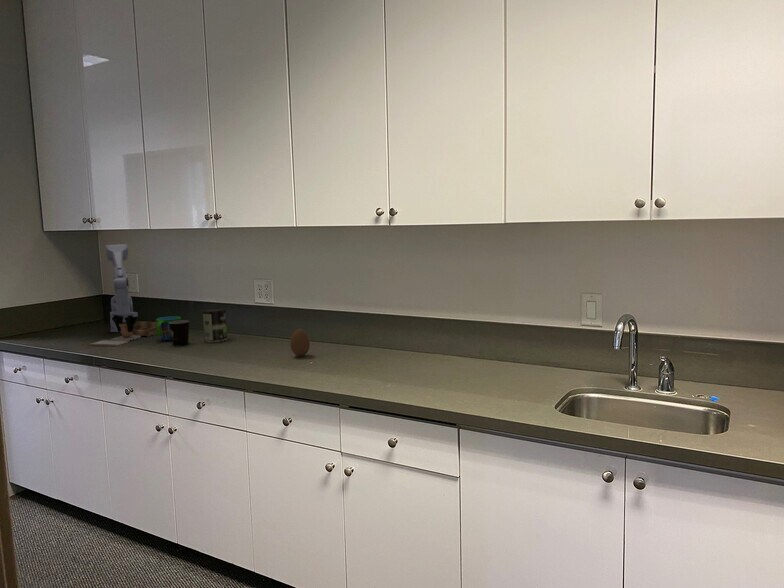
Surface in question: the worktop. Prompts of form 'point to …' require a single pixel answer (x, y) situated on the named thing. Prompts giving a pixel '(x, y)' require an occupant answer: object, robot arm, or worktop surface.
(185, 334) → the coffee mug
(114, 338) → the stone tile
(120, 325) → the clay pot
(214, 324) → the coffee can
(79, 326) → the worktop surface
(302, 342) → the egg
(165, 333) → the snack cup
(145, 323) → the cold frame
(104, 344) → the frame lid
